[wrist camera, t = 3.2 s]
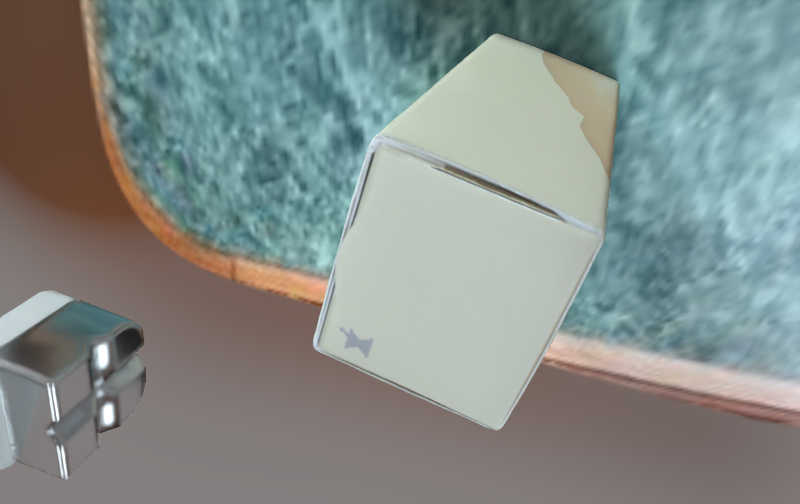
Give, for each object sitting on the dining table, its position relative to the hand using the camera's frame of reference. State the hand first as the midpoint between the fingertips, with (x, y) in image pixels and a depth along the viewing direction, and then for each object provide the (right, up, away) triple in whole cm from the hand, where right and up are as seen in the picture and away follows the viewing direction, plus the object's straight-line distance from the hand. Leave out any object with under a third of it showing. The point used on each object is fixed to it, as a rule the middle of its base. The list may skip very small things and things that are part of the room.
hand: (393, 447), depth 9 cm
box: (+4, +7, +12) cm, 15 cm away
